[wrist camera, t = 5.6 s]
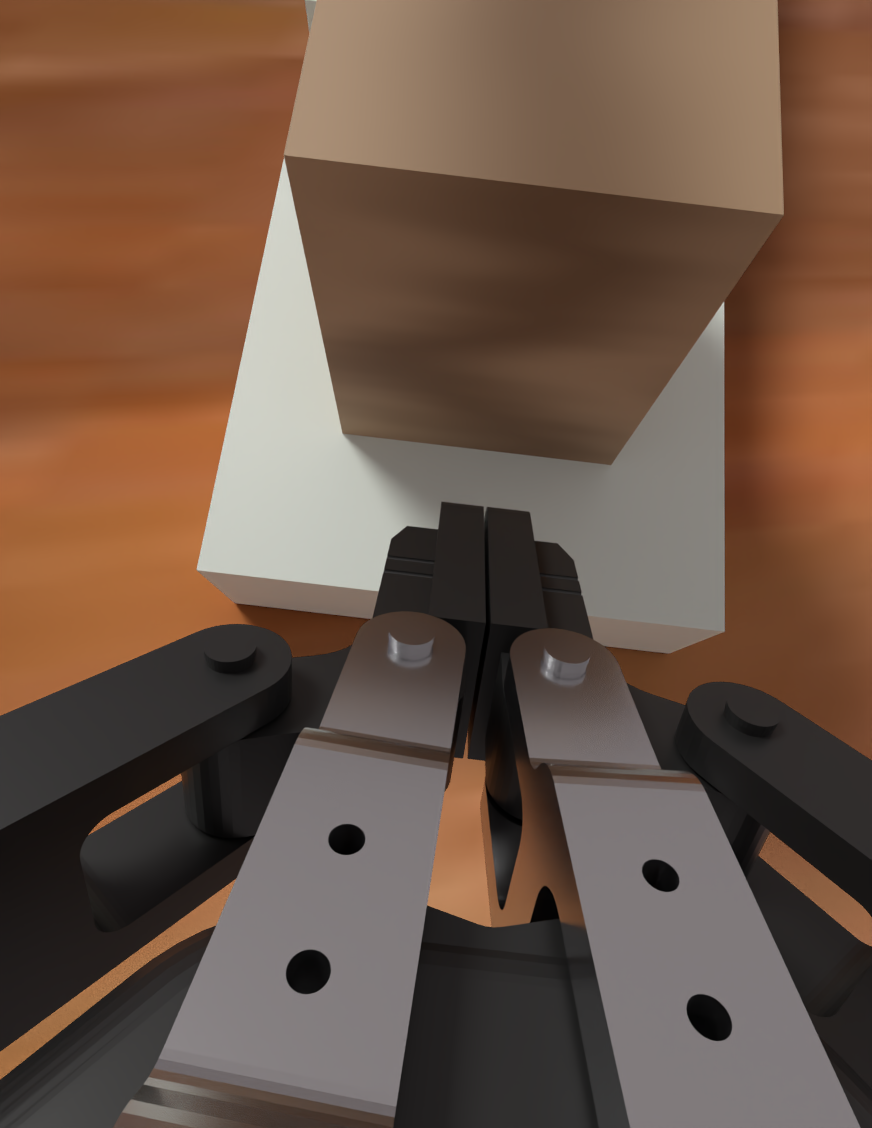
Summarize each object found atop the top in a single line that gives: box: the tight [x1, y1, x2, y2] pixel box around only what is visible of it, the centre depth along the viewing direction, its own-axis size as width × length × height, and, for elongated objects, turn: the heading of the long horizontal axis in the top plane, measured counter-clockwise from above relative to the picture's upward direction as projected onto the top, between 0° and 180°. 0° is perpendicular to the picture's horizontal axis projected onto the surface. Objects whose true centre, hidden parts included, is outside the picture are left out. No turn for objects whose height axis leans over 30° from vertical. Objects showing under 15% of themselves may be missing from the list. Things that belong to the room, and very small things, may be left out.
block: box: [284, 0, 784, 465], centre depth 14 cm, size 6×6×8 cm
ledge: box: [197, 159, 725, 654], centre depth 19 cm, size 12×16×4 cm
